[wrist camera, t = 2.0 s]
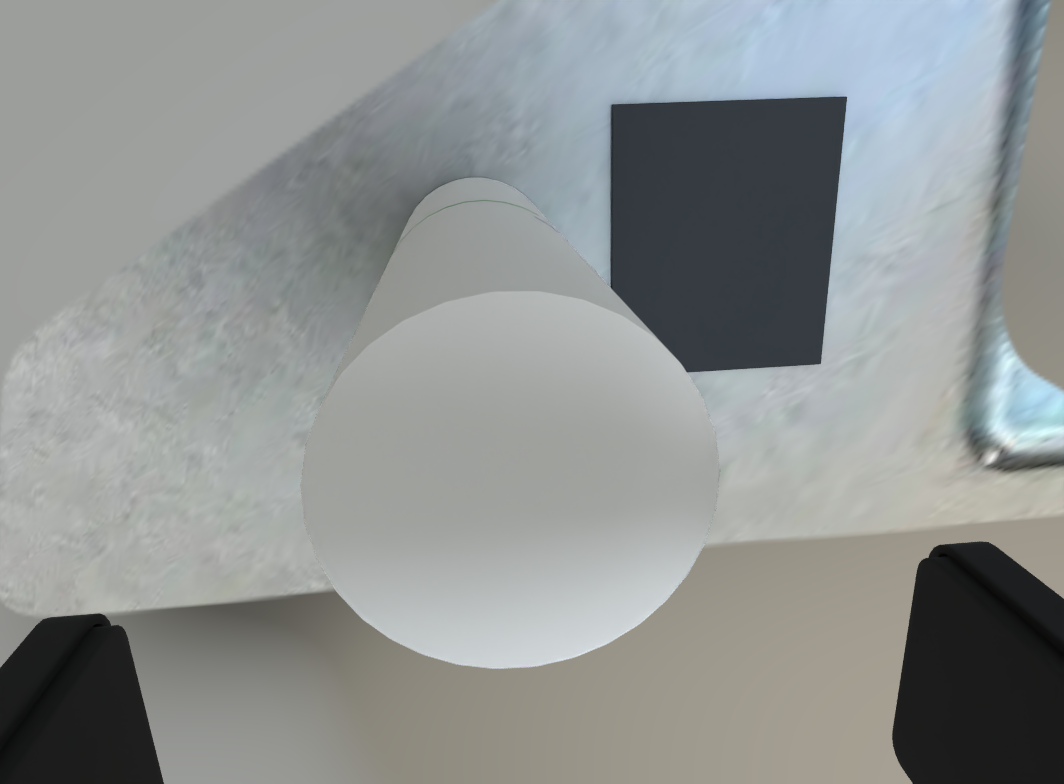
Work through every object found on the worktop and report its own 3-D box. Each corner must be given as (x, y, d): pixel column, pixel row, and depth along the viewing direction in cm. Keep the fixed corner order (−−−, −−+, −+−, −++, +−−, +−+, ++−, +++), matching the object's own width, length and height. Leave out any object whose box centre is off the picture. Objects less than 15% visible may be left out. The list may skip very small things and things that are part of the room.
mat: (611, 104, 35) (612, 104, 35) (844, 96, 36) (847, 96, 35) (611, 375, 39) (612, 377, 39) (818, 362, 40) (820, 364, 40)
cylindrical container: (489, 355, 38) (541, 728, 15) (371, 266, 36) (215, 535, 13) (581, 243, 37) (803, 459, 13) (463, 143, 35) (481, 193, 11)
